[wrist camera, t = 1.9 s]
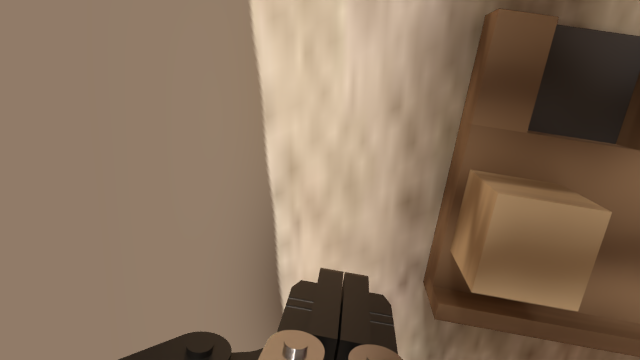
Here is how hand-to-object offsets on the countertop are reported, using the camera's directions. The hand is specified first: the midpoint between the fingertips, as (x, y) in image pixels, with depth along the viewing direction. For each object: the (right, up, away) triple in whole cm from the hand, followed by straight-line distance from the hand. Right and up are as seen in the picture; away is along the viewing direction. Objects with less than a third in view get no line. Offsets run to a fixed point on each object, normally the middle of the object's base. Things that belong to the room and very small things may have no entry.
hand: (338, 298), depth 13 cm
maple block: (+10, +2, +11) cm, 15 cm away
